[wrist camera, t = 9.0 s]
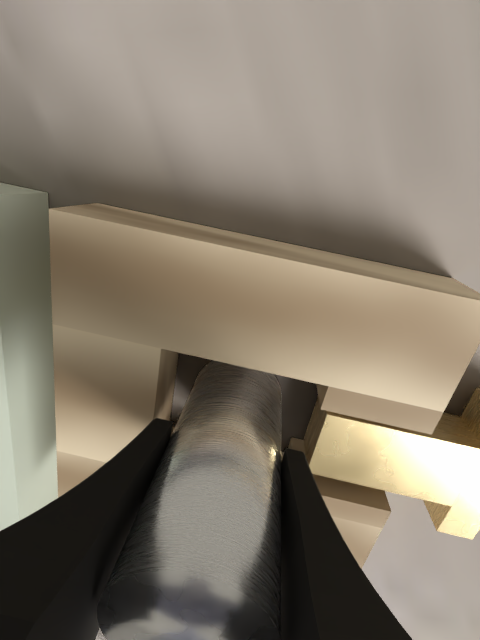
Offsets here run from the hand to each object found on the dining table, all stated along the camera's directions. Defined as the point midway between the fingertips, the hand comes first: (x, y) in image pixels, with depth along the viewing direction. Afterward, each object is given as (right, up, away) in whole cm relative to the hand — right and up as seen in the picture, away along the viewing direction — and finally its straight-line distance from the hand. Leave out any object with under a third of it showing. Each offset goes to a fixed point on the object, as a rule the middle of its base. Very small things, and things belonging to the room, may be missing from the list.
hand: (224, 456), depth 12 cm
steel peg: (0, +1, +4) cm, 4 cm away
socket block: (+1, +2, +4) cm, 4 cm away
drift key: (+7, 0, +3) cm, 8 cm away
